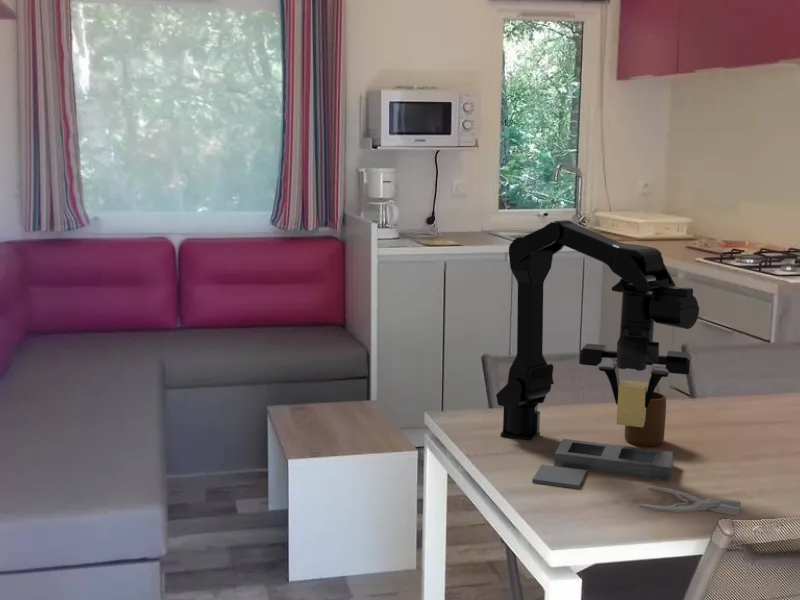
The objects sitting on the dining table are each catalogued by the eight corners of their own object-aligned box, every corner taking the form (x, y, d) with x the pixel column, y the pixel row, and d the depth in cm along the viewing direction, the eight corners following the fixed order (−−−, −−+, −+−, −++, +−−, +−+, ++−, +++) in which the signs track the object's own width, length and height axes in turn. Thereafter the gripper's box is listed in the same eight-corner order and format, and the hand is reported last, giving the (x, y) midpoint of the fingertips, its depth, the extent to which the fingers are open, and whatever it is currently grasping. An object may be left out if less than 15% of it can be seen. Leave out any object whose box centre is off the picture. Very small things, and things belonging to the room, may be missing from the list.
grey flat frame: (554, 466, 172) (554, 453, 171) (562, 451, 180) (563, 438, 179) (668, 481, 165) (669, 467, 165) (672, 465, 173) (673, 451, 173)
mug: (643, 455, 178) (646, 407, 177) (606, 446, 183) (609, 399, 182) (670, 440, 188) (673, 394, 186) (634, 432, 192) (637, 387, 191)
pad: (532, 482, 163) (532, 479, 163) (541, 467, 171) (541, 464, 171) (579, 488, 161) (579, 485, 161) (586, 473, 168) (586, 470, 168)
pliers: (649, 480, 162) (742, 494, 156) (648, 489, 162) (741, 503, 156) (639, 499, 153) (737, 515, 147) (639, 509, 153) (737, 525, 147)
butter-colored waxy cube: (616, 424, 168) (618, 386, 167) (619, 417, 172) (621, 379, 171) (643, 427, 166) (645, 388, 165) (645, 420, 171) (647, 382, 169)
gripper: (576, 323, 161) (572, 412, 164) (691, 332, 155) (684, 424, 158) (586, 312, 172) (581, 395, 174) (693, 320, 166) (687, 407, 169)
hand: (631, 405), depth 169 cm, fingers closed on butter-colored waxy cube, 5 cm apart
